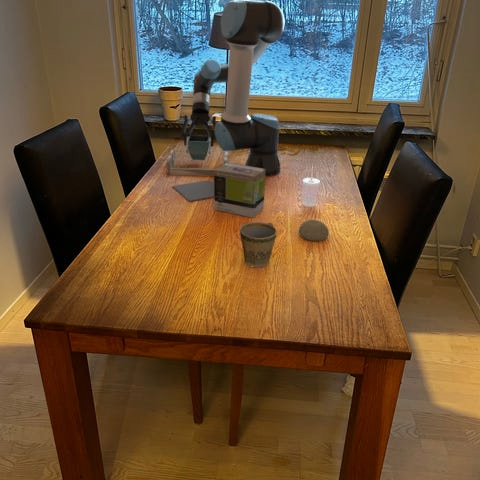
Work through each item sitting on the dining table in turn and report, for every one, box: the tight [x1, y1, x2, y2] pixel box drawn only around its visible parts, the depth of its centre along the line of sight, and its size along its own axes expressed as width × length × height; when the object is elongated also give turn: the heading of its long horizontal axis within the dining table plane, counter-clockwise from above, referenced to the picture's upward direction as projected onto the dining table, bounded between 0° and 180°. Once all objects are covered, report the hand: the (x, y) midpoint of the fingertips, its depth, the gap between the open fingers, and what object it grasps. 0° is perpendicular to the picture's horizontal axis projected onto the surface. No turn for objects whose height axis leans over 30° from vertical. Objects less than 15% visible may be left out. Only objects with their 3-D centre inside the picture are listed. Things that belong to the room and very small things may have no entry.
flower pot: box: [188, 134, 210, 161], centre depth 199 cm, size 9×9×9 cm
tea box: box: [213, 162, 266, 219], centre depth 158 cm, size 15×10×15 cm
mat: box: [171, 179, 214, 203], centre depth 175 cm, size 16×16×1 cm
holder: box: [166, 148, 229, 177], centre depth 196 cm, size 16×24×6 cm, turn 89°
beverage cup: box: [301, 166, 321, 207], centre depth 164 cm, size 6×6×14 cm
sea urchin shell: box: [298, 219, 330, 242], centre depth 144 cm, size 9×8×8 cm
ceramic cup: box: [239, 221, 278, 268], centre depth 129 cm, size 13×10×10 cm
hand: (198, 152), depth 196 cm, fingers closed on flower pot, 9 cm apart
